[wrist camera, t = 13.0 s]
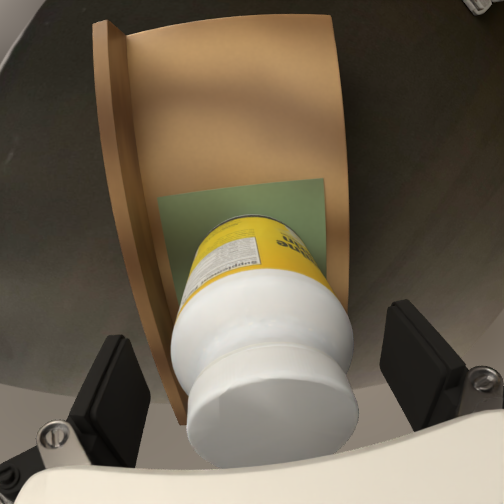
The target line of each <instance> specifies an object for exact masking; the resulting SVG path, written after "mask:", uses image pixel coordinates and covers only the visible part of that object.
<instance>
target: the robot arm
mask: <svg viewBox="0 0 504 504" xmlns="http://www.w3.org/2000/svg"><path fill="white" fill-rule="evenodd" d="M465 365H466V364H465V363H464V362H463V360H462V359H461V358H460V357H459V356H458V354H457V353H456V352H455V351H454V350H453V349H452V347H451V346H450V345H449V344H448V343H447V342H446V341H445V339H444V338H443V337H442V336H441V335H440V334H439V333H438V332H437V330H436V329H435V328H434V327H433V326H432V325H431V324H430V323H429V322H428V321H427V319H426V318H425V317H424V316H423V315H422V314H421V313H420V312H419V311H418V310H417V309H416V308H415V306H414V305H413V304H412V303H411V302H410V301H409V300H407V299H405V300H400V301H395V302H393V303H392V304H391V306H390V307H388V309H387V316H386V324H385V331H384V338H383V345H382V352H381V358H380V369H381V372H382V374H383V376H384V377H385V379H386V381H387V383H388V384H389V386H390V388H391V390H392V392H393V393H394V395H395V397H396V399H397V401H398V403H399V404H400V406H401V408H402V410H403V412H404V414H405V415H406V417H407V419H408V421H409V423H410V425H411V427H412V429H413V431H414V433H411V434H407V435H404V436H401V437H398V438H394V439H391V440H388V441H384V442H381V443H377V444H374V445H370V446H366V447H362V448H358V449H354V450H350V451H346V452H342V453H337V454H332V455H327V456H322V457H317V458H312V459H306V460H300V461H294V462H287V463H280V464H272V465H263V466H253V467H242V468H228V469H209V470H162V469H138V468H135V466H136V460H137V456H138V452H139V447H140V442H141V438H142V433H143V429H144V425H145V421H146V416H147V412H148V408H149V404H150V399H151V396H150V391H149V388H148V386H147V384H146V381H145V379H144V376H143V374H142V371H141V369H140V366H139V364H138V361H137V358H136V356H135V353H134V350H133V348H132V345H131V342H130V340H129V339H125V337H124V336H123V335H109V336H107V338H106V340H105V341H104V343H103V345H102V347H101V349H100V351H99V353H98V355H97V357H96V359H95V361H94V363H93V365H92V367H91V369H90V371H89V373H88V375H87V377H86V379H85V381H84V383H83V385H82V387H81V389H80V391H79V393H78V396H77V398H76V400H75V402H74V404H73V406H72V408H71V411H70V413H69V416H68V418H67V420H66V421H65V420H61V419H55V420H51V421H49V422H47V423H45V424H44V425H43V426H42V427H41V428H40V429H39V431H38V432H37V435H36V443H37V445H36V446H35V447H33V448H31V449H29V450H27V451H25V452H23V453H21V454H20V455H17V456H15V457H13V458H11V459H9V460H8V461H5V462H3V463H2V464H0V504H504V386H503V378H502V377H501V375H500V374H499V373H498V372H497V371H496V370H494V369H493V368H491V367H487V366H476V367H473V368H471V369H470V370H468V368H467V367H466V366H465Z"/></svg>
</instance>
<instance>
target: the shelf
mask: <svg viewBox="0 0 504 504" xmlns="http://www.w3.org/2000/svg"><path fill="white" fill-rule="evenodd" d="M93 58H94V76H95V90H96V101H97V111H98V121H99V129H100V137H101V144H102V151H103V158H104V165H105V171H106V177H107V182H108V188H109V193H110V199H111V204H112V209H113V214H114V219H115V223H116V228H117V232H118V237H119V241H120V245H121V250H122V254H123V258H124V262H125V266H126V269H127V273H128V277H129V281H130V284H131V288H132V292H133V295H134V299H135V302H136V305H137V309H138V312H139V315H140V319H141V322H142V325H143V328H144V331H145V334H146V337H147V341H148V344H149V346H150V349H151V352H152V355H153V358H154V361H155V364H156V367H157V369H158V372H159V375H160V377H161V380H162V383H163V385H164V388H165V391H166V393H167V396H168V398H169V401H170V403H171V406H172V408H173V411H174V413H175V416H176V418H177V420H178V423H179V425H187V413H188V398H189V396H188V395H187V394H186V393H185V391H184V390H183V388H182V387H181V385H180V383H179V382H178V379H177V377H176V375H175V372H174V369H173V365H172V360H171V340H172V333H173V329H174V325H175V321H176V318H177V315H178V311H179V307H180V304H181V300H182V297H183V293H184V290H185V287H186V283H187V280H188V277H189V274H190V270H191V267H192V264H193V260H194V257H195V254H196V251H197V249H198V247H199V245H200V243H201V242H202V240H203V239H204V238H205V236H206V235H207V234H208V233H209V232H210V231H211V230H212V229H213V228H214V227H216V226H217V225H219V224H220V223H222V222H224V221H226V220H228V219H230V218H233V217H236V216H241V215H249V214H256V215H264V216H268V217H272V218H275V219H277V220H279V221H281V222H283V223H284V224H286V225H287V226H289V227H290V228H291V229H292V230H293V231H294V232H295V233H296V234H297V235H298V236H299V237H300V239H301V240H302V242H303V243H304V245H305V246H306V248H307V250H308V251H309V253H310V254H311V256H312V257H313V259H314V261H315V262H316V264H317V266H318V267H319V269H320V270H321V272H322V274H323V275H324V277H325V278H326V280H327V282H328V283H329V285H330V287H331V288H332V290H333V292H334V293H335V295H336V296H337V298H338V300H339V301H340V303H341V304H342V306H343V308H344V310H345V312H346V313H348V290H349V189H348V166H347V148H346V134H345V122H344V110H343V100H342V90H341V82H340V73H339V65H338V58H337V51H336V44H335V37H334V31H333V25H332V19H331V16H330V15H313V14H271V15H251V16H238V17H227V18H218V19H210V20H202V21H195V22H189V23H183V24H177V25H172V26H167V27H162V28H157V29H153V30H148V31H144V32H140V33H136V34H132V35H128V36H126V35H125V34H124V33H123V32H121V31H120V30H119V29H118V28H117V27H116V26H114V25H113V24H112V23H111V22H110V21H109V20H104V21H101V22H98V23H95V24H93Z"/></svg>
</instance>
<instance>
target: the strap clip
mask: <svg viewBox="0 0 504 504" xmlns="http://www.w3.org/2000/svg"><path fill="white" fill-rule="evenodd" d="M463 1H464V3H465V4H466V5H467V7H468V8H469V9H470V11H471V12H472V13H473V14H474V15H480V14H482V13H485V12H486V10H487V9H488V8H489V7H490V6H491V5H492V3H491V1H492V2H499V1H504V0H471V1H470V0H463ZM472 3H473V4H474V5H473V4H472ZM475 7H476V8H477V9H476V8H475Z"/></svg>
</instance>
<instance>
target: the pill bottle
mask: <svg viewBox="0 0 504 504" xmlns="http://www.w3.org/2000/svg"><path fill="white" fill-rule="evenodd" d="M353 350H354V337H353V330H352V326H351V323H350V320H349V318H348V315H347V313H346V312H345V310H344V308H343V306H342V304H341V303H340V301H339V300H338V298H337V296H336V295H335V293H334V292H333V290H332V288H331V287H330V285H329V283H328V282H327V280H326V278H325V277H324V275H323V274H322V272H321V270H320V269H319V267H318V266H317V264H316V262H315V261H314V259H313V257H312V256H311V254H310V253H309V251H308V250H307V248H306V246H305V245H304V243H303V242H302V240H301V239H300V237H299V236H298V235H297V234H296V233H295V232H294V231H293V230H292V229H291V228H290V227H289V226H287V225H286V224H284V223H283V222H281V221H279V220H277V219H275V218H272V217H268V216H264V215H256V214H249V215H241V216H236V217H233V218H230V219H228V220H226V221H224V222H222V223H220V224H219V225H217V226H216V227H214V228H213V229H212V230H211V231H210V232H209V233H208V234H207V235H206V236H205V238H204V239H203V240H202V242H201V243H200V245H199V247H198V249H197V251H196V254H195V257H194V260H193V264H192V267H191V270H190V274H189V277H188V280H187V283H186V287H185V290H184V293H183V297H182V300H181V304H180V307H179V311H178V315H177V318H176V321H175V325H174V329H173V333H172V340H171V360H172V365H173V369H174V372H175V375H176V377H177V379H178V382H179V383H180V385H181V387H182V388H183V390H184V391H185V393H186V394H187V395H188V396H189V398H188V413H187V429H186V430H187V436H188V439H189V442H190V444H191V446H192V447H193V449H194V450H195V451H196V452H197V454H199V455H200V456H201V457H202V458H203V459H204V460H206V461H208V462H209V463H211V464H213V465H215V466H217V467H219V468H221V469H228V468H242V467H253V466H263V465H272V464H280V463H287V462H294V461H300V460H306V459H312V458H317V457H322V456H327V455H332V454H334V453H335V452H337V451H338V450H339V449H340V448H341V447H342V446H343V445H344V444H345V443H346V442H347V441H348V440H349V438H350V437H351V435H352V434H353V432H354V430H355V428H356V425H357V423H358V418H359V417H358V416H359V409H358V404H357V401H356V398H355V396H354V394H353V391H352V389H351V386H350V384H349V381H348V378H347V376H346V374H347V372H348V370H349V367H350V364H351V361H352V357H353Z"/></svg>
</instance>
